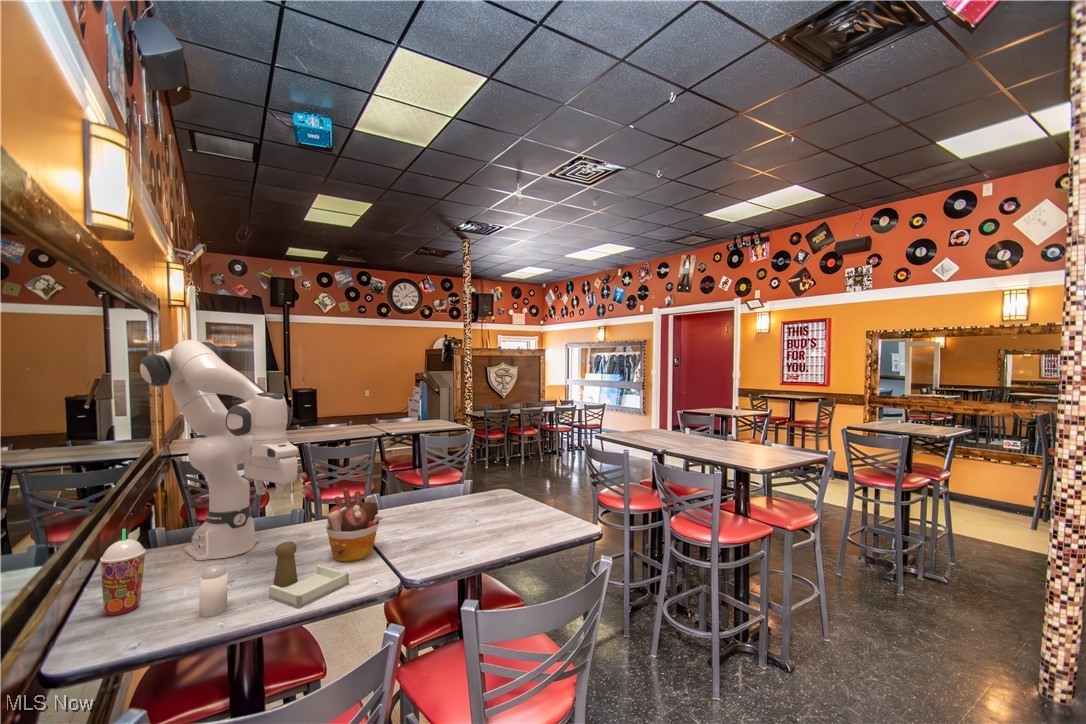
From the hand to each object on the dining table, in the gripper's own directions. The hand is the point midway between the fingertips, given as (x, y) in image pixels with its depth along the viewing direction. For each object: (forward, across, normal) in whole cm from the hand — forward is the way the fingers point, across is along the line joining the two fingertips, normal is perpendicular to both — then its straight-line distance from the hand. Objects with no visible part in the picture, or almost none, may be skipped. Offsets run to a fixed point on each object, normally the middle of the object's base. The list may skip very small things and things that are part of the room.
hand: (269, 496), depth 133 cm
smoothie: (+23, -14, -28) cm, 39 cm away
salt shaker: (+23, +7, -18) cm, 30 cm away
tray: (+23, +18, 0) cm, 30 cm away
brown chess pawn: (+24, +8, 0) cm, 25 cm away
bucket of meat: (+24, +8, +22) cm, 33 cm away
